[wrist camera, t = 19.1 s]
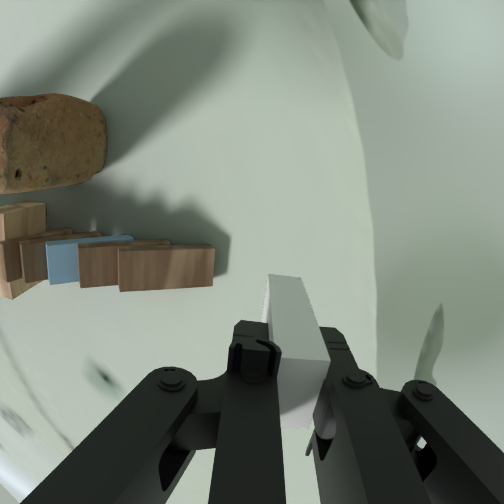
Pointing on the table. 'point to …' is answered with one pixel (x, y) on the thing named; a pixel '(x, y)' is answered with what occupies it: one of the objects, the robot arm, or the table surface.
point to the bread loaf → (49, 142)
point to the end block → (17, 225)
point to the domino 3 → (70, 257)
